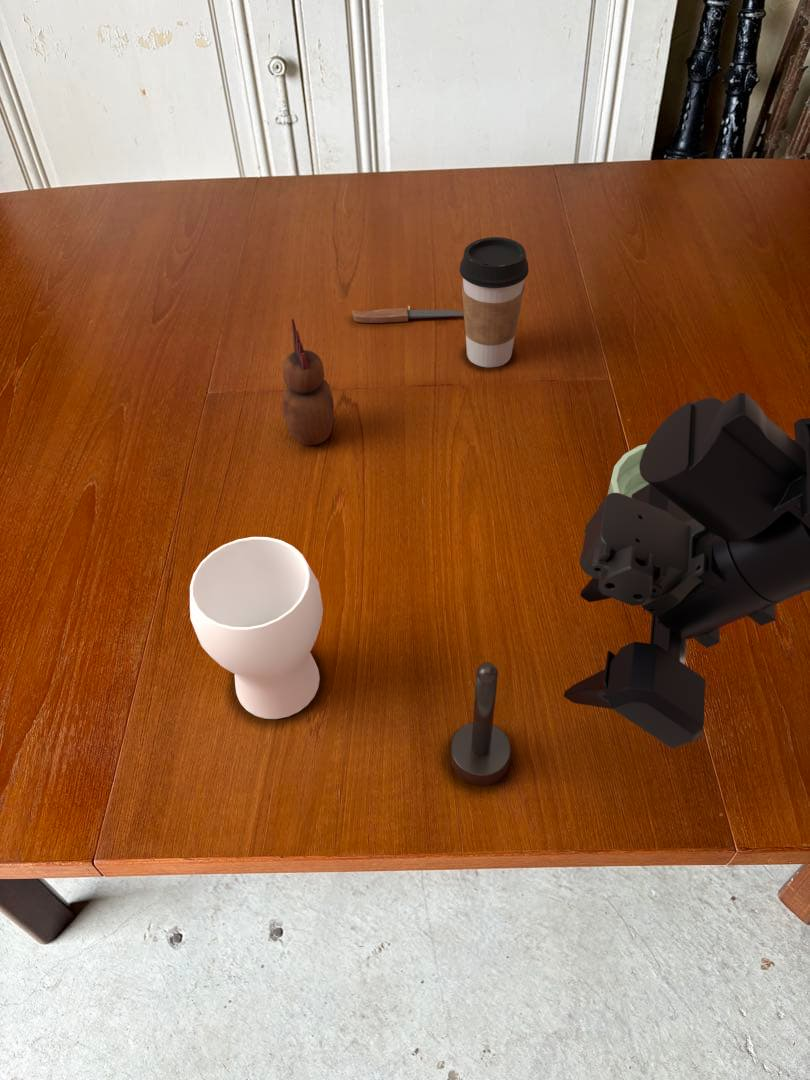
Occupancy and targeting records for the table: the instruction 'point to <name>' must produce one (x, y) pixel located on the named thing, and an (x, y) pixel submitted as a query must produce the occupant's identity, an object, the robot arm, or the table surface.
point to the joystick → (481, 736)
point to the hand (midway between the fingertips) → (576, 645)
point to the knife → (400, 315)
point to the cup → (260, 622)
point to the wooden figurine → (306, 395)
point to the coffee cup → (492, 298)
